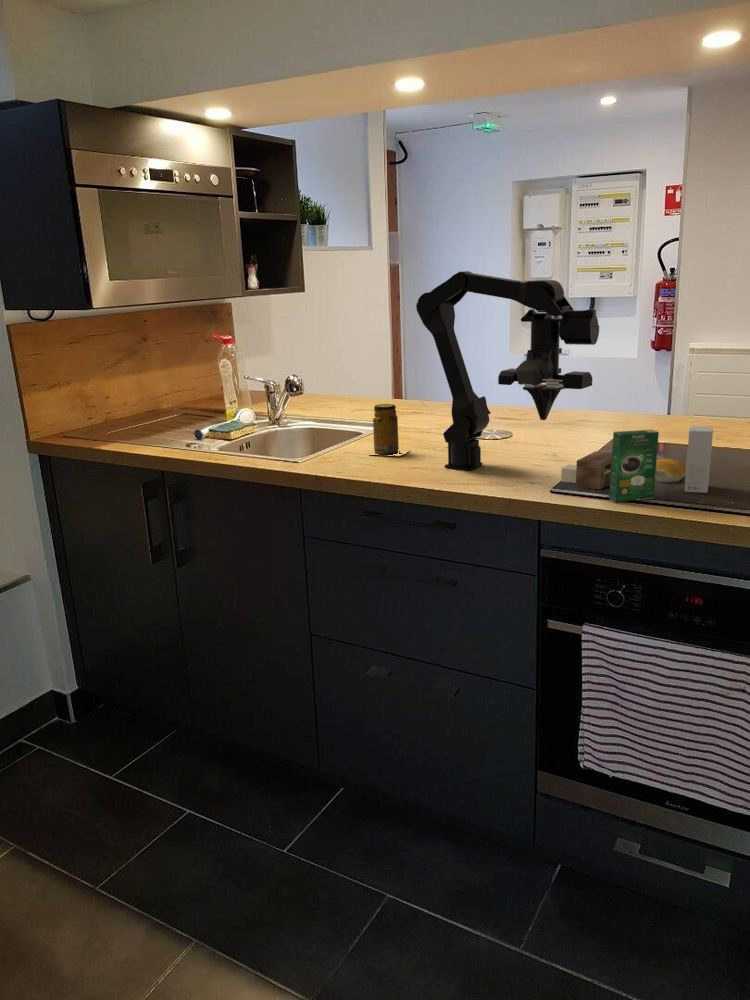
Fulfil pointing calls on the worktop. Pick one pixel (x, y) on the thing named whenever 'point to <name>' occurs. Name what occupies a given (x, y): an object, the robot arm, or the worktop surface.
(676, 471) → the bread roll
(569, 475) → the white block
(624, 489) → the coffee box
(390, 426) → the condiment
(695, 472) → the skincare box
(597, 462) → the wooden block
